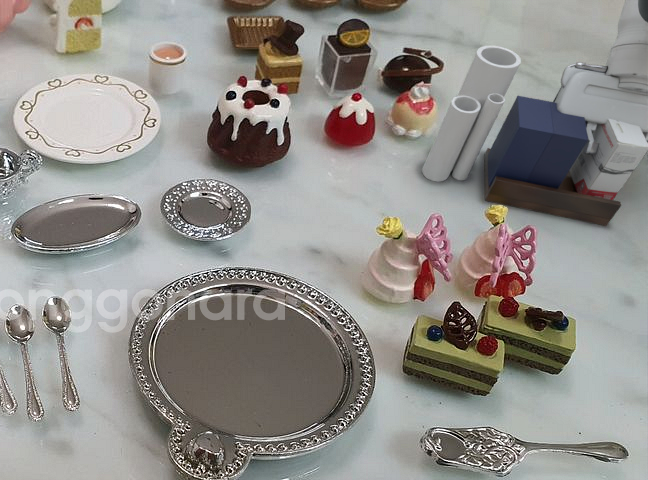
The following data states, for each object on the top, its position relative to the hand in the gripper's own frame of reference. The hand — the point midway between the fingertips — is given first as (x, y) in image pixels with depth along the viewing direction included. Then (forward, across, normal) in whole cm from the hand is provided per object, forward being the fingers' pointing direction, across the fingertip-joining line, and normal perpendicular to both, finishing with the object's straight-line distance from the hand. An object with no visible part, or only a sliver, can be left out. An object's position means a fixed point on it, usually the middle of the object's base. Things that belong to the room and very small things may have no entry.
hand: (610, 158), depth 120 cm
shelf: (+6, -6, +7) cm, 11 cm away
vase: (+5, -22, +8) cm, 24 cm away
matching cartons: (+5, -11, +6) cm, 13 cm away
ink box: (+4, 0, +5) cm, 7 cm away
